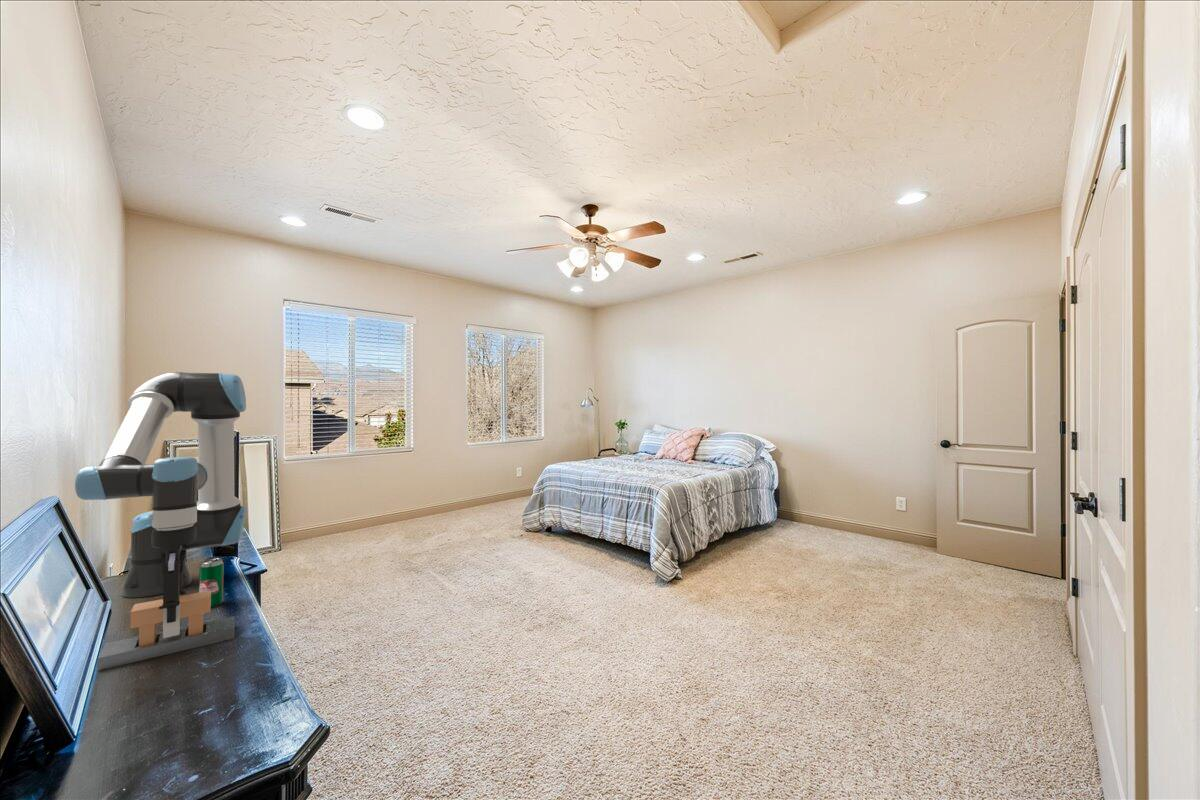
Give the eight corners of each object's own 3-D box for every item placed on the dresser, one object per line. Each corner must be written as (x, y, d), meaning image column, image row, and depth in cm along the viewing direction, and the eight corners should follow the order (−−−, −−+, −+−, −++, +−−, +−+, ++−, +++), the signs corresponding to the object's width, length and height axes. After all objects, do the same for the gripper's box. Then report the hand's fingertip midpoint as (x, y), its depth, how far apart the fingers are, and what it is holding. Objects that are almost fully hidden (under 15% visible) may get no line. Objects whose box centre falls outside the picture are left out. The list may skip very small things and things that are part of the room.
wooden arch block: (133, 645, 104) (134, 604, 104) (210, 628, 112) (211, 590, 112) (129, 654, 100) (130, 611, 100) (209, 636, 108) (210, 596, 108)
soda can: (195, 610, 125) (195, 564, 125) (204, 602, 130) (204, 558, 130) (218, 607, 127) (218, 562, 127) (226, 600, 131) (226, 557, 132)
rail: (105, 654, 102) (106, 643, 102) (234, 626, 115) (234, 615, 116) (97, 670, 96) (97, 658, 96) (234, 638, 109) (234, 627, 109)
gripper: (156, 521, 111) (155, 621, 110) (145, 537, 97) (143, 652, 96) (198, 517, 116) (197, 613, 115) (194, 531, 101) (192, 641, 101)
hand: (172, 630), depth 106 cm, fingers closed on wooden arch block, 5 cm apart
